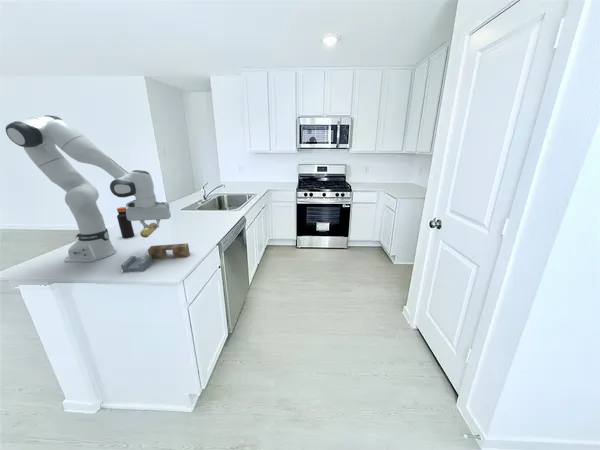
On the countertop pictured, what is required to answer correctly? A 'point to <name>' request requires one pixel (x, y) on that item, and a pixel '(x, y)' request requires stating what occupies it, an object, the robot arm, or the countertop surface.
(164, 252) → the beam
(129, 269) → the v block
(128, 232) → the bottle
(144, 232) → the gold bar
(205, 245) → the countertop surface
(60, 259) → the countertop surface
